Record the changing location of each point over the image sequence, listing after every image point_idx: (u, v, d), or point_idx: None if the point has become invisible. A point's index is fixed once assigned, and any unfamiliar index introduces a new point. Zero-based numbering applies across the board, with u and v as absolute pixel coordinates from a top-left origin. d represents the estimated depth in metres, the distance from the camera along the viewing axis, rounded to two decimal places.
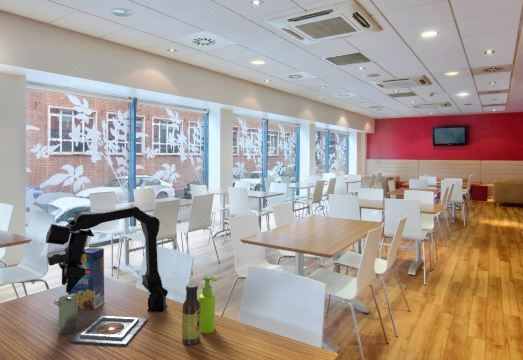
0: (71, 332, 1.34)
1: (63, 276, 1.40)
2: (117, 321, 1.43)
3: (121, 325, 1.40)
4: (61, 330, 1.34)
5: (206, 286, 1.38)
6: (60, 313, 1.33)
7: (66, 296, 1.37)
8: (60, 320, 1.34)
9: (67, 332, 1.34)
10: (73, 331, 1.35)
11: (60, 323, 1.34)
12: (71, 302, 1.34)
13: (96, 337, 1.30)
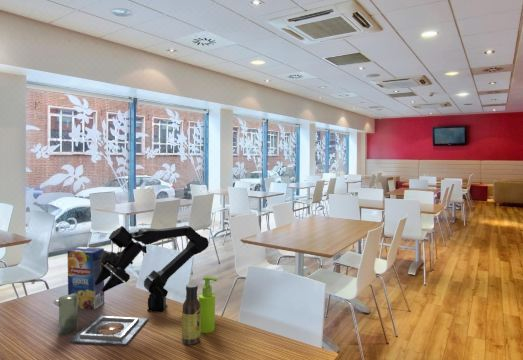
0: (71, 332, 1.34)
1: (100, 276, 1.47)
2: (117, 321, 1.43)
3: (121, 325, 1.40)
4: (61, 330, 1.34)
5: (206, 286, 1.38)
6: (60, 313, 1.33)
7: (66, 296, 1.37)
8: (60, 320, 1.34)
9: (67, 332, 1.34)
10: (73, 331, 1.35)
11: (60, 323, 1.34)
12: (71, 302, 1.34)
13: (96, 337, 1.30)
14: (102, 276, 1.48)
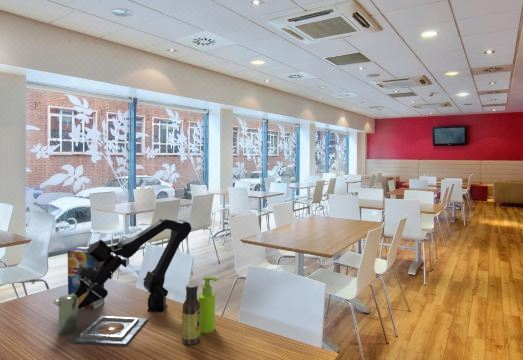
0: (71, 332, 1.34)
1: (77, 291, 1.42)
2: (117, 321, 1.43)
3: (121, 325, 1.40)
4: (61, 330, 1.34)
5: (206, 286, 1.38)
6: (60, 313, 1.33)
7: (66, 296, 1.37)
8: (60, 320, 1.34)
9: (67, 332, 1.34)
10: (73, 331, 1.35)
11: (60, 323, 1.34)
12: (71, 302, 1.34)
13: (96, 337, 1.30)
14: (80, 291, 1.43)
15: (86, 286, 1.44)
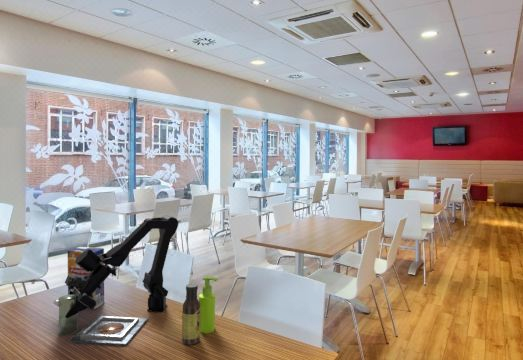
0: (71, 332, 1.34)
1: None
2: (117, 321, 1.43)
3: (121, 325, 1.40)
4: (61, 330, 1.34)
5: (206, 286, 1.38)
6: (60, 313, 1.33)
7: (66, 296, 1.37)
8: (60, 320, 1.33)
9: (67, 332, 1.34)
10: (73, 331, 1.35)
11: (60, 323, 1.34)
12: (71, 302, 1.34)
13: (96, 337, 1.30)
14: None
15: None
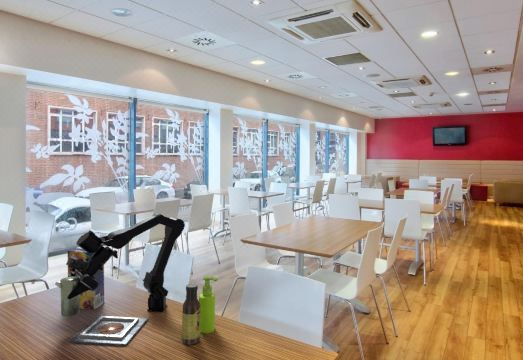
0: (73, 313, 1.34)
1: None
2: (117, 321, 1.43)
3: (121, 325, 1.40)
4: (63, 311, 1.33)
5: (206, 286, 1.38)
6: (62, 294, 1.33)
7: (68, 278, 1.36)
8: (62, 301, 1.33)
9: (69, 313, 1.33)
10: (75, 313, 1.34)
11: (62, 304, 1.33)
12: (72, 284, 1.33)
13: (96, 337, 1.30)
14: None
15: None
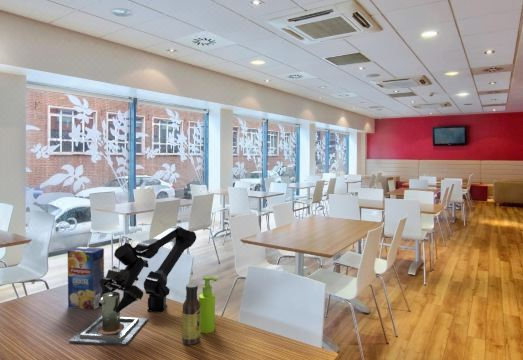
0: (117, 328, 1.36)
1: None
2: None
3: (121, 325, 1.40)
4: (107, 327, 1.34)
5: (206, 286, 1.38)
6: (106, 311, 1.34)
7: (107, 294, 1.37)
8: (106, 317, 1.34)
9: (114, 328, 1.35)
10: (118, 327, 1.37)
11: (106, 321, 1.34)
12: (117, 299, 1.35)
13: (96, 337, 1.30)
14: None
15: (109, 291, 1.42)
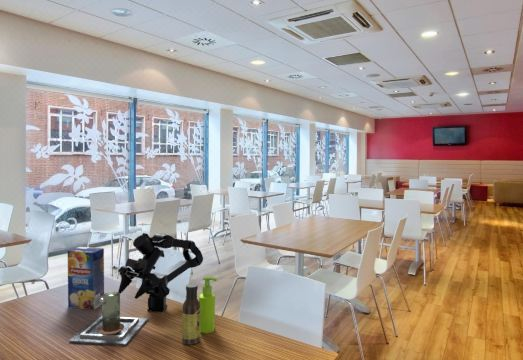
0: (117, 328, 1.36)
1: (122, 285, 1.47)
2: None
3: (121, 325, 1.40)
4: (107, 327, 1.34)
5: (206, 286, 1.38)
6: (106, 310, 1.34)
7: (107, 294, 1.37)
8: (106, 317, 1.34)
9: (114, 328, 1.35)
10: (118, 327, 1.37)
11: (106, 320, 1.34)
12: (117, 298, 1.35)
13: (96, 337, 1.30)
14: (124, 284, 1.48)
15: (128, 279, 1.50)
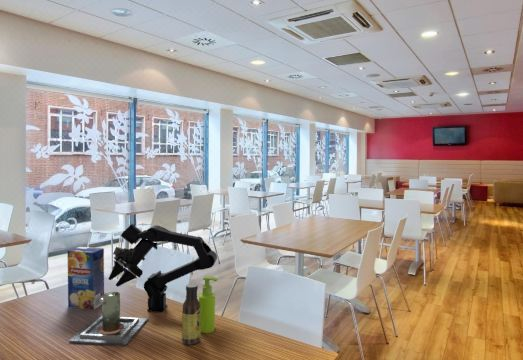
0: (117, 328, 1.36)
1: (113, 272, 1.53)
2: None
3: (121, 325, 1.40)
4: (107, 327, 1.34)
5: (206, 286, 1.38)
6: (106, 310, 1.34)
7: (107, 294, 1.37)
8: (106, 317, 1.34)
9: (114, 328, 1.35)
10: (118, 327, 1.37)
11: (106, 320, 1.34)
12: (117, 298, 1.35)
13: (96, 337, 1.30)
14: (115, 272, 1.54)
15: (121, 267, 1.56)
